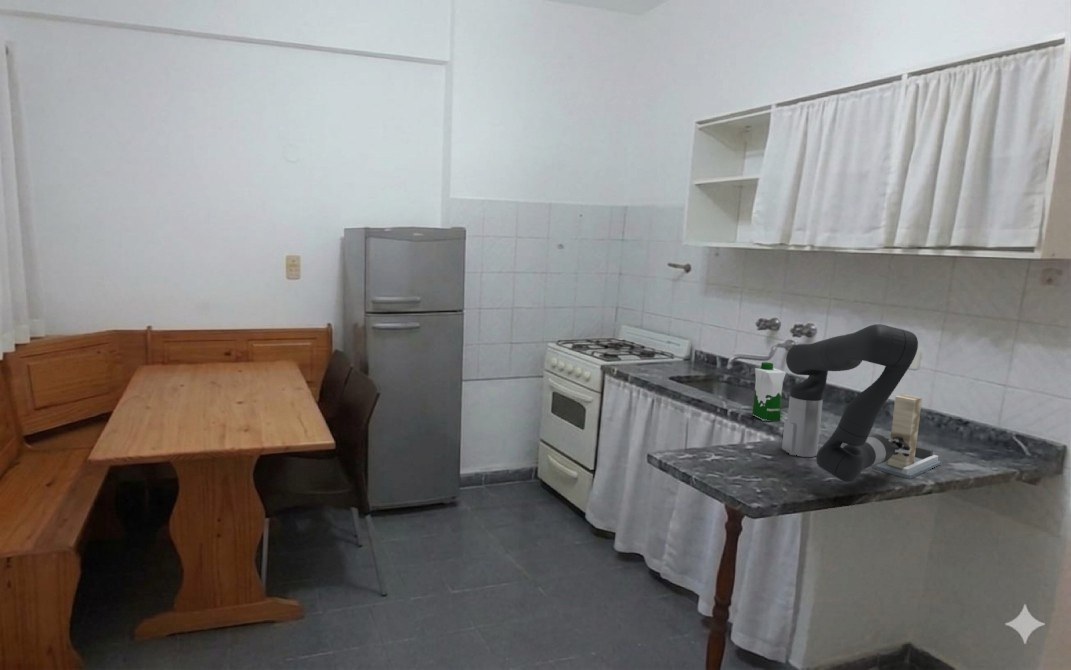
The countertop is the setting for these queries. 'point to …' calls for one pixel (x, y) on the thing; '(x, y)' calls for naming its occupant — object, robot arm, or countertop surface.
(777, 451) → the countertop surface
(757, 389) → the milk carton
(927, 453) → the chute
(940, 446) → the countertop surface
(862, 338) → the robot arm
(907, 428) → the block
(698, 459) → the countertop surface
